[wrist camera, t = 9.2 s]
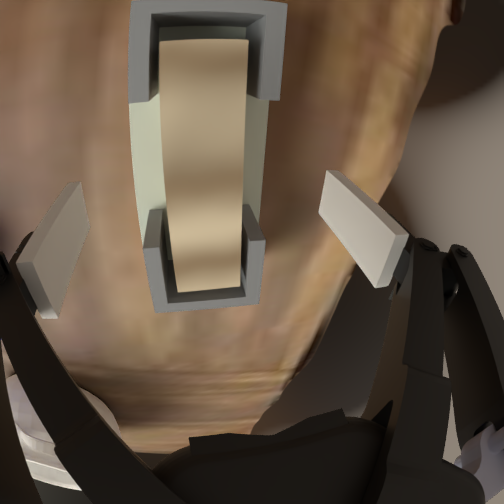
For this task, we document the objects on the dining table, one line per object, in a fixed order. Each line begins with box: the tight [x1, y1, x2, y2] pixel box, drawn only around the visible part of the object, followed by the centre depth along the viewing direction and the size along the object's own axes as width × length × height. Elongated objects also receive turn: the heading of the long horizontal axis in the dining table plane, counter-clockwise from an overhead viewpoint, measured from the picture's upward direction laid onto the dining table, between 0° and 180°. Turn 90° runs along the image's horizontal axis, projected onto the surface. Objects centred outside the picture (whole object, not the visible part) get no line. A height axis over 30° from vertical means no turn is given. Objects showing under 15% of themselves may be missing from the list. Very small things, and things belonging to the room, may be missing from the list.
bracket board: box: [128, 0, 288, 313], centre depth 21 cm, size 24×11×7 cm, turn 176°
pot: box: [6, 374, 121, 490], centre depth 36 cm, size 29×26×16 cm
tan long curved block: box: [159, 39, 249, 292], centre depth 21 cm, size 18×5×6 cm, turn 178°
